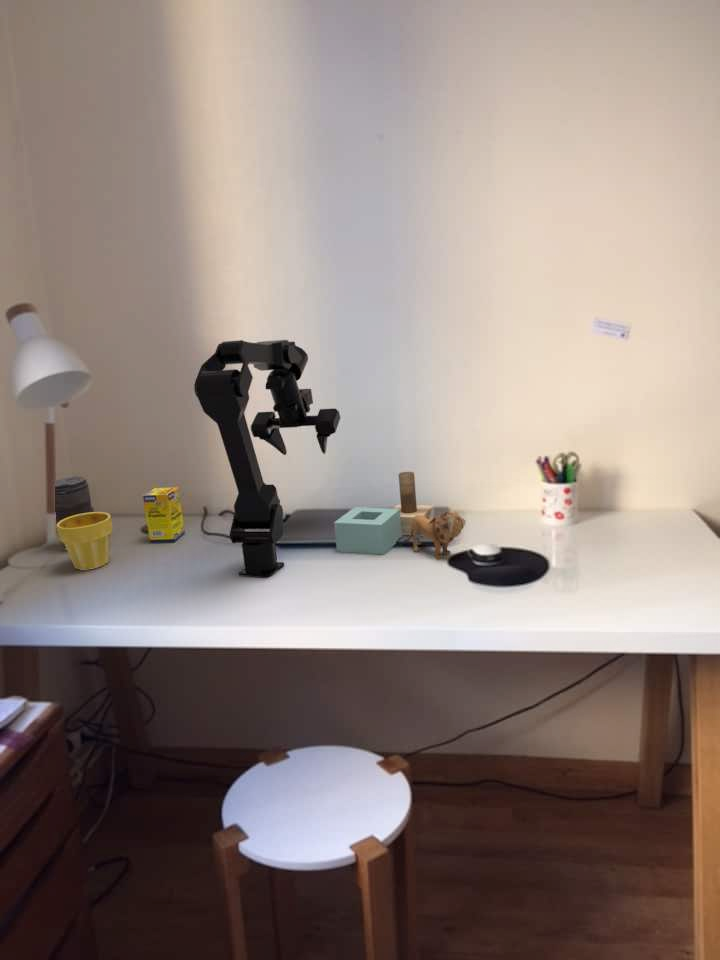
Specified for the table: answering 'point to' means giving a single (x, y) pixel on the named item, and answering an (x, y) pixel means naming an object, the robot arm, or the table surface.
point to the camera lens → (71, 498)
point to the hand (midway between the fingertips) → (304, 453)
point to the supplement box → (163, 515)
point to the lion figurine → (436, 530)
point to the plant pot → (86, 538)
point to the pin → (407, 492)
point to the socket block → (368, 530)
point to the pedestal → (408, 517)
